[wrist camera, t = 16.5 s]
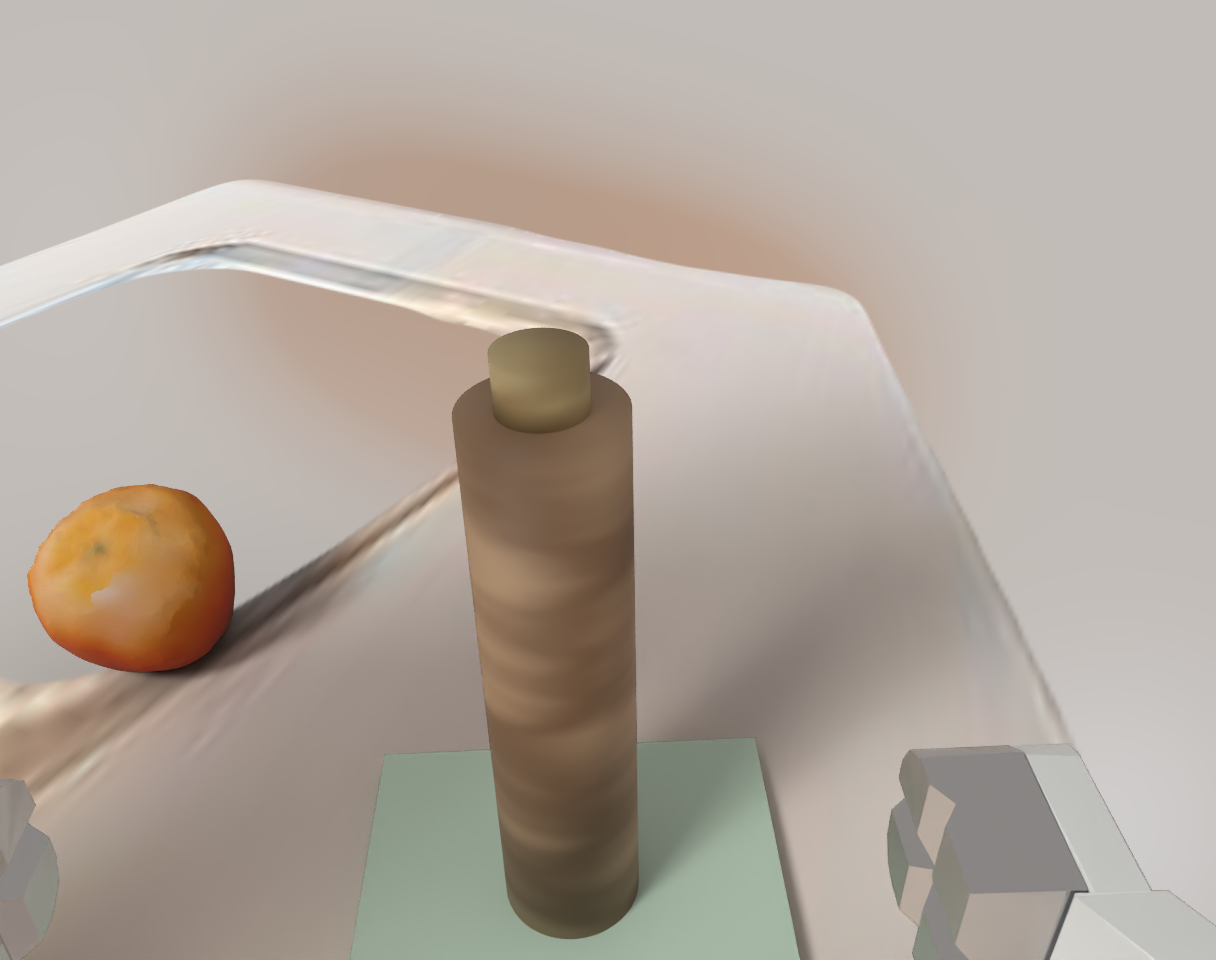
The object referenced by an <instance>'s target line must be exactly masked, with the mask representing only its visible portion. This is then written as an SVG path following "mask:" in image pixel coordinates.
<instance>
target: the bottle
mask: <svg viewBox="0 0 1216 960" xmlns="http://www.w3.org/2000/svg"><path fill="white" fill-rule="evenodd" d="M488 363H489V374H490V378H488V379H486V380H484V381H482V382H480V383H478V384H476V385H474V386H473V387H471V388H470V389H468V390H467V391H466V392H465V393H464V394H462V395H461V397H460V398H459V399H458V400H457V402H456V403H455V405H454V408H453V411H452V423H453V431H454V440H455V448H456V457H457V466H458V474H459V483H460V492H461V500H462V509H463V517H464V526H465V535H466V543H467V552H468V561H469V569H470V578H471V586H472V595H473V604H474V612H475V621H476V630H477V638H478V647H479V655H480V664H481V673H482V681H483V690H484V699H485V707H486V716H487V725H488V733H489V742H490V750H491V759H492V768H493V776H494V785H495V794H496V802H497V811H498V819H499V828H500V837H501V845H502V854H503V863H504V871H505V880H506V888H507V895H508V899H509V902H510V905H511V907H512V908H513V910H514V912H515V913H516V915H517V916H518V917H519V918H520V919H521V920H522V921H523V922H524V923H525V924H526V925H527V926H529V927H530V928H531V929H533V930H535V931H537V932H539V933H541V934H544V935H546V936H550V937H554V938H560V939H580V938H586V937H590V936H593V935H596V934H599V933H601V932H603V931H605V930H607V929H609V928H611V927H612V926H614V925H615V924H616V923H618V922H619V921H620V920H621V919H622V918H623V917H624V916H625V915H626V914H627V912H628V911H629V909H630V908H631V907H632V905H633V903H634V901H635V898H636V895H637V892H638V886H639V864H638V793H637V723H636V652H635V582H634V511H633V441H632V403H631V399H630V397H629V395H628V394H627V393H626V391H625V390H624V389H623V388H622V387H621V386H619V385H618V384H617V383H615V382H613V381H612V380H610V379H608V378H606V377H604V376H601V375H598V374H595V373H592V372H590V360H589V345H588V343H587V341H586V340H585V339H584V338H582V337H581V336H579V335H578V334H575V333H573V332H570V331H566V330H562V329H555V328H531V329H524V330H519V331H515V332H512V333H509V334H506V335H504V336H502V337H500V338H498V339H497V340H495V341H494V342H493V343H492V344H491V345H490V347H489V349H488Z"/></svg>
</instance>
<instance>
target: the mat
mask: <svg viewBox="0 0 1216 960" xmlns="http://www.w3.org/2000/svg"><path fill="white" fill-rule="evenodd" d="M637 793H638V864H639V886H638V892H637V895H636V898H635V901H634V903H633V905H632V907H631V908H630V909H629V911H628V912H627V914H626V915H625V916H624V917H623V918H622V919H621V920H620V921H619V922H618V923H616V924H615V925H614V926H612V927H611V928H609V929H607V930H605V931H603V932H601V933H599V934H596V935H593V936H590V937H586V938H580V939H560V938H554V937H550V936H546V935H544V934H541V933H539V932H537V931H535V930H533V929H531V928H530V927H529V926H527V925H526V924H525V923H524V922H523V921H522V920H521V919H520V918H519V917H518V916H517V915H516V913H515V912H514V910H513V908H512V907H511V905H510V902H509V899H508V895H507V888H506V880H505V871H504V863H503V854H502V845H501V837H500V828H499V819H498V811H497V802H496V794H495V785H494V776H493V768H492V759H491V750H471V751H450V752H429V753H407V754H386V755H384V760H383V766H382V772H381V778H380V783H379V789H378V795H377V801H376V807H375V813H374V819H373V825H372V830H371V836H370V842H369V848H368V854H367V860H366V866H365V872H364V878H363V883H362V889H361V895H360V901H359V907H358V913H357V919H356V925H355V931H354V936H353V942H352V948H351V954H350V960H800V957H799V953H798V948H797V943H796V938H795V933H794V928H793V923H792V918H791V913H790V908H789V903H788V899H787V894H786V889H785V884H784V879H783V874H782V869H781V864H780V859H779V854H778V849H777V844H776V840H775V835H774V830H773V825H772V820H771V815H770V810H769V805H768V800H767V795H766V790H765V786H764V781H763V776H762V771H761V766H760V761H759V756H758V751H757V746H756V741H755V737H751V738H729V739H708V740H686V741H665V742H643V743H637Z"/></svg>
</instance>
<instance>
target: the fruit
mask: <svg viewBox="0 0 1216 960" xmlns="http://www.w3.org/2000/svg"><path fill="white" fill-rule="evenodd" d="M27 577H28V587H29V592H30V595H31V597H32V602H33V607H34V609H35V612H36V614H37V616H38V617H39V620H40V622H41V623H42V625H43V627H44V629H45V630H46V632H47V633H48V635H49V636H50V637H51V639H52V640H53V641H54V642H56V643H57V644H58V645H59V646H61V647H63V648H65V649H66V650H67V651H69V652H71V653H72V654H74V655H76V656H77V657H79V658H81V659H83V660H86V661H88V662H91V663H94V664H97V665H100V666H103V667H107V668H111V669H115V670H120V671H127V672H150V671H162V670H171V669H178V668H181V667H183V666H186V665H188V664H190V663H192V662H194V661H196V660H198V659H200V658H201V657H203V656H204V655H205V654H207V653H208V652H209V651H210V650H211V649H212V648H213V646H214V645H215V644H216V642H217V641H218V640H219V639H220V638H221V637H222V636H223V635H224V633H225V632H226V630H227V629H228V628H229V627H230V623H231V619H232V615H233V608H234V596H235V575H234V562H233V554H232V550H231V546H230V544H229V541H228V539H227V537H226V535H225V533H224V531H223V530H222V528H221V526H220V525H219V523H218V522H217V520H216V519H215V518H214V516H213V515H212V514H211V513H210V511H209V510H208V509H207V507H205V505H204V504H203V503H202V502H201V501H200V500H199V499H198V498H197V497H195V496H194V495H192V494H190V493H188V492H186V491H182V490H177V489H172V488H168V487H164V486H158V485H154V484H148V485H137V486H127V487H119V488H114V489H111V490H109V491H108V492H105V493H102V494H98V495H96V496H94V497H92V498H91V499H89V500H86V501H84V502H83V503H82V504H81V505H80V506H79V507H78V508H77V509H76V510H74V511H73V512H71V513H70V514H69V515H68V516H67V517H65V518H63V519H62V520H61V521H60V522H59V523H58V524H57V525H56V526H55V528H54V529H53V530H52V531H51V533H50V534H49V536H48V538H47V539H46V540H45V541H44V542H43V543H42V544H41V546H40V547H39V550H38V553H37V555H36V558H35V562H34V564H33V566H32V567H31V569H30V570H29V572H28V575H27Z"/></svg>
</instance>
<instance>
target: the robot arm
mask: <svg viewBox="0 0 1216 960" xmlns="http://www.w3.org/2000/svg"><path fill="white" fill-rule="evenodd" d="M899 780H900V783H901V786H902V789H903V792H904V795H905V798H904V799H903V800H902V801H901V802H900V803H899V804H897V805H896V806H895V807H894V808H893V809H892V810H891V816H890V821H889V827H888V833H887V841H888V865H889V870H890V876H891V881H892V886H893V890H894V893H895V897H896V900H897V904H898V907H899V910H900V911H901V912H902V913H904V914H905V915H906V916H907V917H908V918H909V919H910V920H911V921H912V922H913V923H915V924H916V925H917V926H918V931H917V935H916V939H915V943H914V947H913V951H912V954H913V957H914V960H1216V926H1215V925H1214V924H1213V923H1211V922H1210V921H1209V920H1207V919H1206V918H1205V917H1203V916H1202V915H1201V914H1199V913H1198V912H1197V911H1195V910H1194V909H1193V908H1191V907H1190V906H1189V905H1187V904H1186V903H1185V902H1183V901H1182V900H1180V899H1179V898H1178V897H1177V896H1175V895H1174V894H1172V893H1171V892H1170V891H1168V890H1151V888H1150V886H1149V884H1148V882H1147V880H1146V879H1145V876H1144V875H1143V873H1142V871H1141V869H1140V867H1139V865H1138V863H1137V862H1136V860H1135V858H1134V856H1133V854H1132V852H1131V850H1130V848H1129V846H1128V845H1127V843H1126V841H1125V839H1124V837H1123V835H1122V834H1121V832H1120V830H1119V828H1118V826H1117V824H1116V822H1115V820H1114V818H1113V817H1112V815H1111V813H1110V811H1109V809H1108V807H1107V805H1106V804H1105V802H1104V800H1103V798H1102V796H1101V794H1100V792H1099V790H1098V789H1097V787H1096V785H1095V783H1094V781H1093V779H1092V777H1091V775H1090V774H1089V772H1088V770H1087V768H1086V766H1085V764H1084V762H1083V760H1082V759H1081V757H1080V755H1079V753H1078V752H1077V751H1076V750H1075V749H1074V748H1072V747H1071V746H1070V745H1069V744H1051V745H1022V746H1014V747H1011V746H1009V745H1006V746H983V747H960V748H937V749H913V750H909V751H908V752H907V754H906V755H905V757H904V758H903V761H902V765H901V769H900V774H899ZM35 806H36V804H35V802H34V800H33V798H32V796H31V794H30V792H29V790H28V788H27V786H26V784H25V782H24V781H23V780H14V779H0V960H21V959H22V958H23V957H24V956H26V955H27V954H28V953H29V952H30V951H31V950H33V949H34V948H35V947H36V946H37V945H38V944H40V943H41V942H42V941H43V938H44V936H45V933H46V930H47V928H48V925H49V923H50V920H51V918H52V915H53V913H54V908H55V901H56V895H57V888H58V882H59V875H58V866H57V857H56V853H55V851H54V848H53V846H52V843H51V841H50V838H49V837H48V836H46V835H45V834H43V833H42V832H40V831H39V830H37V829H36V828H34V827H33V826H31V825H30V824H28V820H29V818H30V816H31V814H32V812H33V810H34V808H35Z"/></svg>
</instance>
